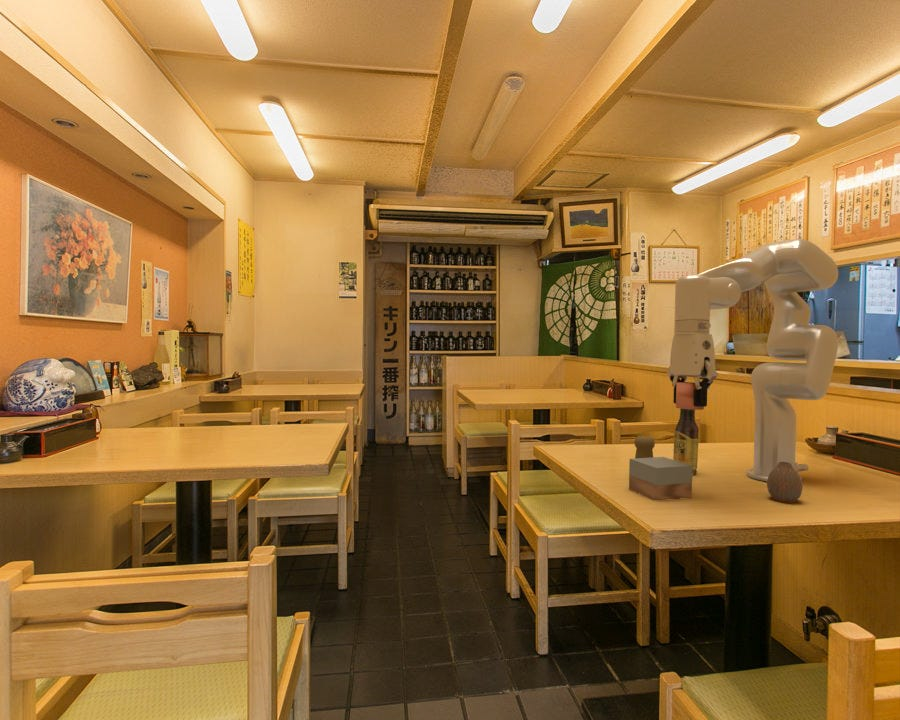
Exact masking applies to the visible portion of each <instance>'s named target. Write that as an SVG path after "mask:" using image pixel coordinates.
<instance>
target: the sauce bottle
mask: <svg viewBox="0 0 900 720" xmlns="http://www.w3.org/2000/svg"><path fill="white" fill-rule="evenodd" d="M679 409H680V408H679ZM695 411H696V410H691V409H680V411H679V419H678V422H677V424H676V426H675V428H674V433H673V434H674V436H673V437H674V438H673V458H672V460H676V461H679V462H682V463H685V464H689V465H692V466H693V473H692V476H693V474H694V475H696V474H697V472H698V471H697V470H698V462H699V461H698V459H699V457H698V455H699V438H700V437H699V427H698V424H697V423H696V420H695V419H696V416H695V413H696V412H695Z"/></svg>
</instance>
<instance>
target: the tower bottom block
mask: <svg viewBox="0 0 900 720" xmlns="http://www.w3.org/2000/svg"><path fill="white" fill-rule="evenodd" d="M628 489H629V490H630V489H631V491H632V490H633V491H632V492H634V491H635V493H637V494H639V493H640V494H639V495H641V494H642V495H641V496H643V495H644V496H643V497H645V496H646V497H645V498H647V497H648V498H647V499H649V498H650V500H651V499H653V500H652V501H654V500H659V501H669V500H668V499H673V500H681V499H680V498H688V499H692V497H693V492H692V491H693V482H692V483H681V484H667V485H654V484H652V483H649V482H646V481H644V480H641V479H639V478H636V477H634V476H631V475H629V474H628ZM666 499H667V500H666Z"/></svg>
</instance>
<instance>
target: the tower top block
mask: <svg viewBox="0 0 900 720" xmlns="http://www.w3.org/2000/svg"><path fill="white" fill-rule="evenodd" d="M628 466H629V467H628V468H629V469H628V471H629V473H628V476H629V475H631V476H634V477H636V478H639V479H641V480H644V481H646V482H649V483H652V484H654V485H667V484H681V483H692V484H693V475H692V473H693V466H692V465H689V464H685V463H682V462H679V461H676V460H673V458H672V459H671V458H668V457H666V456H659V457H658V456H657V457H656V456H655V457H654V456H653V457H652V458H635V457H634V458H629V464H628Z"/></svg>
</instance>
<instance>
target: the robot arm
mask: <svg viewBox="0 0 900 720" xmlns="http://www.w3.org/2000/svg"><path fill="white" fill-rule="evenodd" d="M838 279H839V268H838V266H837V263H836V262H835V260H834V259H833V258H832V256H830V255H828V254H827V253H826V252H825V251H823V249H821V247H819V246H818V245H817V244H815V243H813V242H811V241H810V240H806V239H804V238H794V239H788V240H783V241H777V242H770V243H767V244H763V245H760V246H759V247H757V248H755V249H753V250H752V251H750V252H748V253H746V254H745V255H743V256H741V257H739V258H738V259H736V260H733V261H729V262H726V263H723V264H722V265H719V266H716V267H714V268H711V269H708V270H706V271H703V272H700V273H698V274H696V275H694V274H692V275H685V276H681V277H679V278H677V280H676V282H675V286H674V288H675V290H674V291H675V292H674V297H675V298H674V328H673V330H674V331H673V337H672V342H671V348H670V358H669V359H670V360H669V362H670V363H669V366H668V368H667V370H666V374H667V375H668V378H669V380H670V381H671V385H672V386H671V387H673V399H672V400H673V401H672V402H673V404H675V405H676V382H687V381H688V380H687V379H688V377H689V378H690V377H691V378H693V381H694V383H695V385H696V388H697V389H694V406H696V407H704V408H705V407H707V406H708V390H709V389H710V388H711V386H712V384H713V382H714V381H715V380H716V379H717V377H718V375H719V374H718V372H717V370H716V353H715V344H714V338H713V335H712V334H710V329H711V322H710V320H711V310H723V309H729V308H731V307H733V306H735V305H736V304H737V303H738V302H739V301H740V299H741V298H742V297H741V296H742V293H743V292H747V291H751V290H753V289H756V288H757V287H759V286H760V285H762V284H764V285H765V288H766V290H767V292H768V294H769V297H770V299H771V301H772V304H773V308H774V312H773V317H772V321H771V325H770V329H769V332H768V337H767V341H766V345H765V347H766V348H765V349H766V353H767V355H768V356H769V357H770V358H773V359H774V360H779V361H778V362H777V361H773V362H770V361H769V362H764V363H760V364H758V365H757V366H756V367H755V368H754V369H753V370H752V372H751V377H750V378H751V379H750V383H751V388H752V393H753V400H754V431H753V432H754V435H753V436H754V437H753V439H754V441H753V443H754V444H753V468H750V469H747V471H746V475H747V476H748V477H749V478H751V479H754V480H758V481H761V482H767V478H768V475H769V474H770V472H771V471H772V470H773V469H774V468H775V467H776V466H777V465H778V463H779V462H789V463H791V464H792V467H793V468H794V470H795V471H796V472H797V473H798V474H799V472H807V471H808V470H809V465H808V464H807V463H799V462H796V447H797V446H796V445H797V444H796V442H797V440H796V439H797V414H796V411H795V409H794V407H793V405H792V404H791V402H790V401H789V400H801V401H818V400H821V399H822V398H824V397H825V396H826V394H827V392H828V391H829V388H830V385H831V380H832V375H833V372H834V367H835V363H836V360H837V354H838V347H839V341H838V336H837V333H836V331H835V330H834V329H833V328H832V327H830V326H828V325H824V324H823V325H822V324H810V320H811V317H812V316H811V315H812V311H811V307H810V306H809V304H808V303H807V302H806V301H805V300H804V299H803V298H802V297H801V296H800V295H799V293H801V292H810V291H811V292H812V291H822V290H827V289H829V288H831V287H833V286H834V285H835V284H836V283H837V281H838ZM780 361H781V362H780ZM782 361H793V362H782ZM794 361H795V362H794ZM796 361H797V362H796ZM803 362H805V363H803ZM788 399H789V400H788ZM799 476H800V478H801V480H802V481H803V477H802V476H801V475H799Z"/></svg>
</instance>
